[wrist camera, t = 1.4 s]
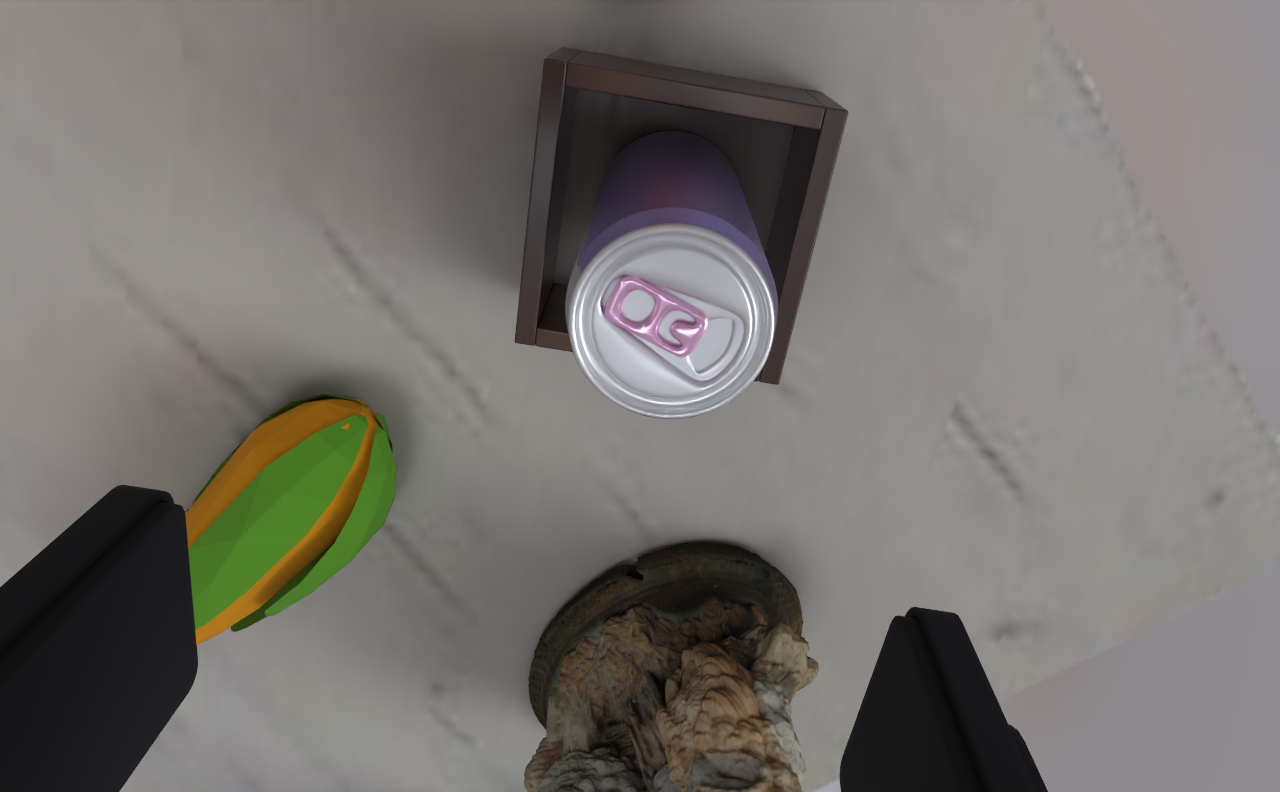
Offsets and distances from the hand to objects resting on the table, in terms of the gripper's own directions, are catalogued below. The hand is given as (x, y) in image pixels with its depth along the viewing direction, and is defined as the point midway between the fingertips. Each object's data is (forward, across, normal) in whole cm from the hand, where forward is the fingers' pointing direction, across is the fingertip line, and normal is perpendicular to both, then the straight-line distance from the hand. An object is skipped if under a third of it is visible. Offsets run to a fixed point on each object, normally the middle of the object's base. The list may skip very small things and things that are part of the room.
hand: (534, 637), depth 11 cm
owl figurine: (+28, -6, +24) cm, 38 cm away
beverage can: (+28, -2, 0) cm, 28 cm away
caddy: (+28, -2, 0) cm, 28 cm away
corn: (+28, +16, +19) cm, 37 cm away
